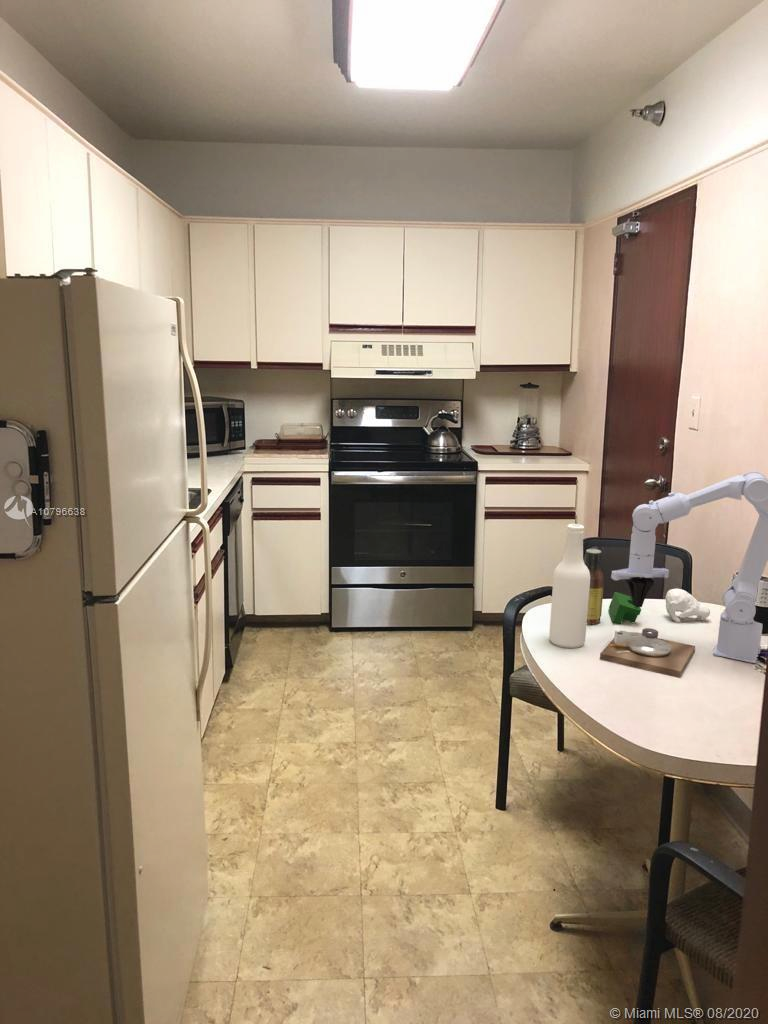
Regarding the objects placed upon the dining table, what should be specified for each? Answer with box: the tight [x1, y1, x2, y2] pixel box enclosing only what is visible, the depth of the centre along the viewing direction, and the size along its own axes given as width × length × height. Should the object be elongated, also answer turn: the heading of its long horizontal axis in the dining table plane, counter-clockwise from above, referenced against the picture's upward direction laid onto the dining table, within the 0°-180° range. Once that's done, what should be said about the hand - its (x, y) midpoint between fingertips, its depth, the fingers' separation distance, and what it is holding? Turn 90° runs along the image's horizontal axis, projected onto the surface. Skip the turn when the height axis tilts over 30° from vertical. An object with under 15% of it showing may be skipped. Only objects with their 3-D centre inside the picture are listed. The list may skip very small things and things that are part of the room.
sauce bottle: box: [584, 548, 605, 625], centre depth 200 cm, size 7×6×20 cm
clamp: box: [608, 591, 642, 625], centre depth 204 cm, size 12×6×9 cm, turn 163°
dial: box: [613, 627, 671, 657], centre depth 179 cm, size 13×10×4 cm
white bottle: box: [548, 523, 590, 649], centre depth 184 cm, size 9×9×30 cm
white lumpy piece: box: [665, 588, 711, 623], centre depth 204 cm, size 6×8×12 cm
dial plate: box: [599, 630, 696, 678], centre depth 180 cm, size 18×18×2 cm
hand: (637, 606), depth 187 cm, fingers closed
